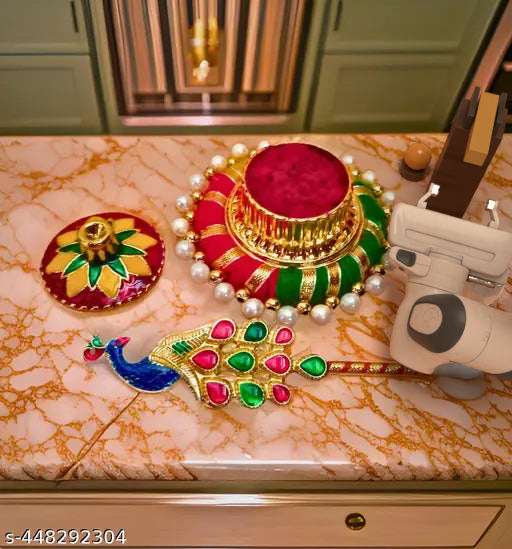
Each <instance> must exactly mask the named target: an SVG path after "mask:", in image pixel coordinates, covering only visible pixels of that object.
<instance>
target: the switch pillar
mask: <svg viewBox="0 0 512 549" xmlns="http://www.w3.org/2000/svg"><path fill="white" fill-rule="evenodd" d="M481 89H482V88H481V86H479V85H478V86H477V85H475V86H474V89H473V91H472V94H471V96H470V98H469V99H468V98H464V97H463V98H461V102H460V104H459V106H458V109H457V112H456V115H455V117H454V119H453V122H452V124H451V126H450V129H449V132H448V133H447V137H446V139H445V142H444V144H443V146H442V149H441V152H440V154H439V156H438V159H437V162H436V163H435V166H434V168H433V172H432V174H431V176H430V179H429V180H428V181H429V182H428V183H427V186H426V189H425V193H424V195H425V194H426V193H427V192H428V190H429V187H430V184H431V183H435V184H438V185H440V188H439V189H438V194H437V196H436V197H434V196H430V197H429V198H428V199H427V200H426V201H425V202H427V205H426V208H425V209H428V210H431V211H435V212H438V213H442V214H445V215H449V216H453V217H456V218H460V219H463V218H464V216H465V214H466V211H467V210H468V207H469V206H470V204H471V202H472V200H473V198H474V196H475V194H476V192H477V190H478V188H479V186H480V185H481V182H482V181H483V178H484V176H485V174H486V172H487V170H488V168H489V167H490V165H491V162H492V161H493V159H494V157H495V155H496V153H497V151H498V149H499V147H500V145H501V143H502V141H503V139H504V134H505V127H506V123H507V119H508V118H507V117H508V111H509V109H508V108H506V103H507V99H508V93H506V92H501V94H500V95H499V100H498V105H497V110H496V115H495V120H494V125H493V130H492V135H491V140H490V145H489V150H488V154H487V156H486V159H485V161H484V163H483V165H482V166H479V165H476V164H472V163H468V162H464V156H465V152H466V148H467V143H468V139H469V135H470V130H471V126H472V122H473V118H474V114H475V110H476V105H477V102H478V99H479V97H480V92H481Z"/></svg>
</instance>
